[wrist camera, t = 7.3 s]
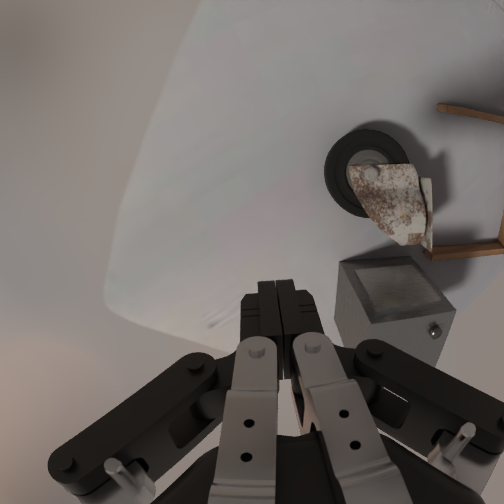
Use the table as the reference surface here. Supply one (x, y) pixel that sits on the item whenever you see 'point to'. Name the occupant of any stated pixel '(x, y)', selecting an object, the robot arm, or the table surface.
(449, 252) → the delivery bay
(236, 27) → the table surface
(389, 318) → the control box
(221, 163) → the table surface
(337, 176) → the caster wheel
